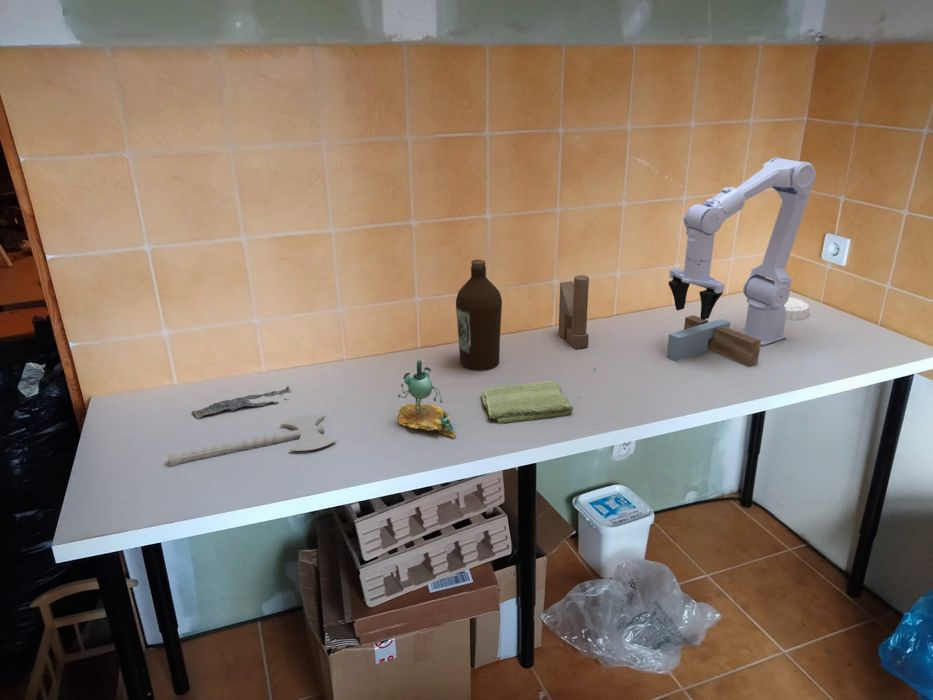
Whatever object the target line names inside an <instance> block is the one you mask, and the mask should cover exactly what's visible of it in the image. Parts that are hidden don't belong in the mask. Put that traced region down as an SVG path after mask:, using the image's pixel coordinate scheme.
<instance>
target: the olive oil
mask: <svg viewBox="0 0 933 700" xmlns="http://www.w3.org/2000/svg"><path fill="white" fill-rule="evenodd" d="M470 263H471V264H470V265H471V267H470V274H471V275H470V278H469V279H468V280H467V281H466V282H465V283H464V285H462V286H461V288H460V289H459V290H458V292H457V295H456V299H455V311H456V322H457V323H456V325H457V335H458V350H459V353H458V354H459V364H460V365H461V366H462V367H463V368H464V369H468V370H472V371H487V370H491V369H494V368H496V367H497V366H498V365H499V364H500V355H501V354H500V353H501V352H500V349H501V347H500V346H501V326H502V325H501V324H502V322H501V321H502V310H503V309H502V308H503V307H502V306H503V300H502V296H501V293H500V291H499V289H498V288H497V287H496V286H495V285H494V284H493V282H492V281H491V280H489V279H488V278H487V275H486V274H487V267H486V260H483V259H473V260H471V262H470Z"/></svg>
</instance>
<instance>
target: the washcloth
mask: <svg viewBox="0 0 933 700" xmlns="http://www.w3.org/2000/svg"><path fill="white" fill-rule="evenodd" d="M481 396H482V403H483V405H484V407H485V408H486V410H487V414H488V417H489V419H493V420H496V422H497V424H498V425H499V424H500V425H501V424H509V423H517V422H518V423H519V422H524V421H532V420H541V419H548V418H550V419H551V418H556V417H562V416H569V414H572V412H573V411H574V407H573V404H571V402H570V401H569V400H568V399H567V396H565V395H563V391H562V387H561V386H560V383H558V382H556V381H554V380H544V381H542V382H541V381H540V382H536V383H531V382H530V383H529V382H527V383H524V384H523V383H522V384H518V385H512V386H511V385H510V386H497V387H491V388H488V389H486V390H483V391H482V392H481Z"/></svg>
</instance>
